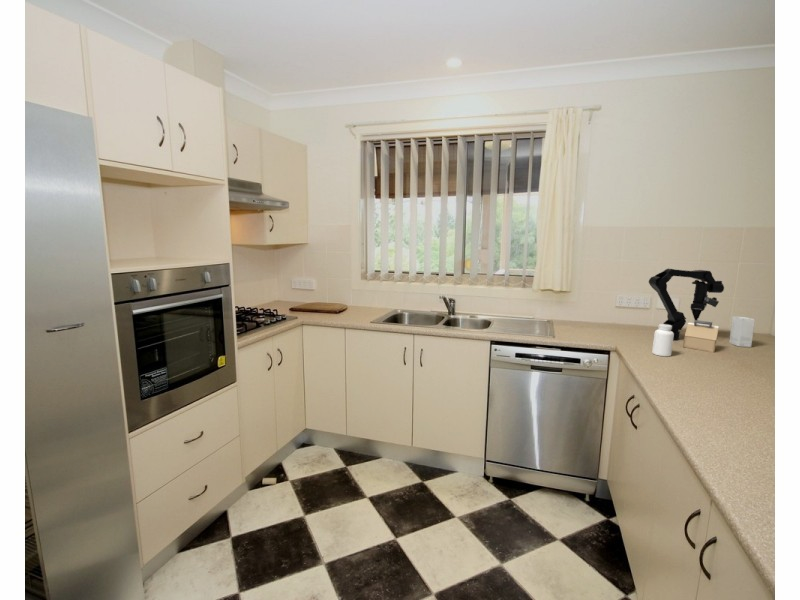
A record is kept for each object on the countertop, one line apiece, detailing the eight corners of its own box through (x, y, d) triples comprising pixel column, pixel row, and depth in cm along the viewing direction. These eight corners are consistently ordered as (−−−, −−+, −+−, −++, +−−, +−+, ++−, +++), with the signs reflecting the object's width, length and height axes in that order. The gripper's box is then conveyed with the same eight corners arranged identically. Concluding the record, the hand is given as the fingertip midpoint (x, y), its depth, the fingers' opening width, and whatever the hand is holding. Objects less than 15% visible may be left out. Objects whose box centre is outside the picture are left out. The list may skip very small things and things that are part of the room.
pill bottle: (668, 353, 196) (672, 324, 193) (673, 357, 188) (677, 327, 186) (649, 351, 198) (653, 322, 196) (654, 355, 191) (658, 326, 189)
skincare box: (751, 347, 210) (756, 319, 207) (737, 346, 211) (742, 318, 209) (741, 343, 218) (745, 316, 215) (727, 342, 219) (732, 315, 217)
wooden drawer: (683, 347, 207) (684, 336, 206) (685, 343, 216) (687, 332, 215) (714, 352, 199) (715, 341, 198) (715, 348, 207) (717, 337, 206)
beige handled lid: (684, 336, 206) (685, 330, 204) (688, 323, 212) (688, 317, 210) (715, 340, 198) (716, 334, 196) (718, 327, 204) (719, 321, 202)
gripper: (718, 295, 208) (713, 324, 211) (719, 292, 222) (715, 319, 224) (692, 293, 215) (688, 320, 218) (695, 290, 229) (691, 316, 232)
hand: (696, 319), depth 223 cm, fingers open, 9 cm apart
